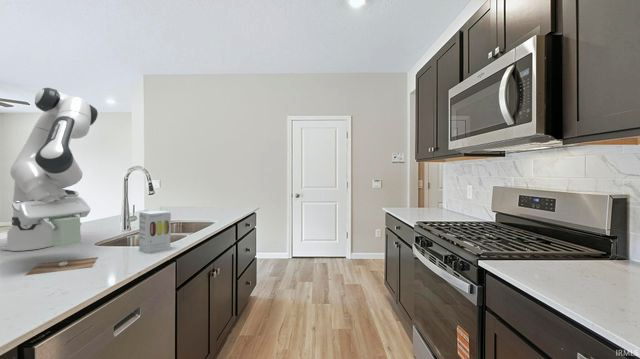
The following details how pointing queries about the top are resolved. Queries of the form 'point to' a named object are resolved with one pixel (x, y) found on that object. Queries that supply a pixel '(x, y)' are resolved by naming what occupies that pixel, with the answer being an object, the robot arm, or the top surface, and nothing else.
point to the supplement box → (154, 231)
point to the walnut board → (70, 266)
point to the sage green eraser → (66, 232)
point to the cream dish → (63, 264)
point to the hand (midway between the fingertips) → (67, 227)
